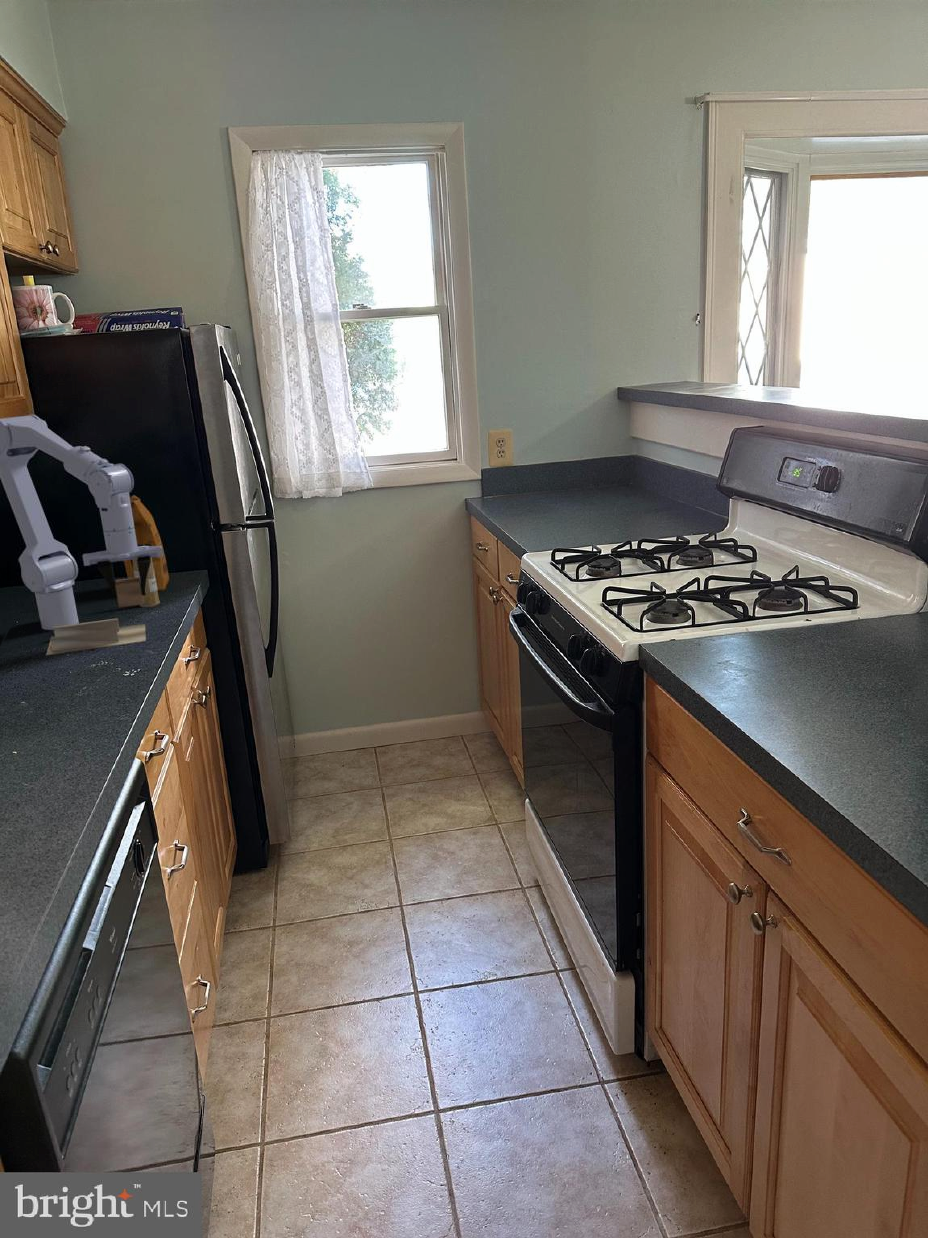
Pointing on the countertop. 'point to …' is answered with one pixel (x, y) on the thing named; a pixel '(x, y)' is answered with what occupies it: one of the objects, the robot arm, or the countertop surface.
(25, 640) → the countertop surface
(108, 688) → the countertop surface
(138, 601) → the walnut block
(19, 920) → the countertop surface
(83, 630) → the frame
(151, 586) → the sprinkles bottle
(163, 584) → the coffee package
